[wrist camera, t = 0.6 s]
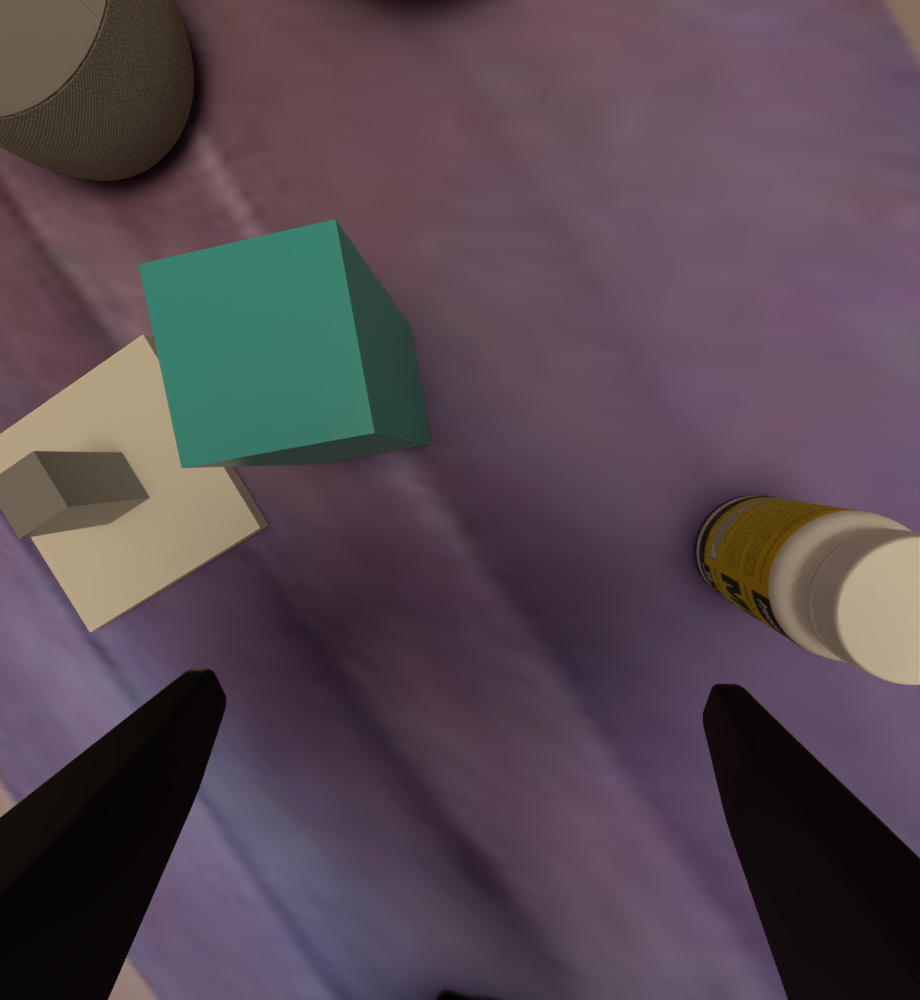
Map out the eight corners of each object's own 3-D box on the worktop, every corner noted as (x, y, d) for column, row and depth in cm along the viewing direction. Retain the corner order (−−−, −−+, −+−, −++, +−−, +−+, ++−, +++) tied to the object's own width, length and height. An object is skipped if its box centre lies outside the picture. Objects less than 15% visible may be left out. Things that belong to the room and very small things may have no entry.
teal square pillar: (431, 444, 22) (374, 432, 12) (319, 463, 22) (181, 468, 13) (410, 326, 21) (335, 219, 12) (298, 349, 22) (138, 264, 12)
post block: (269, 525, 23) (203, 544, 18) (103, 626, 24) (-2, 671, 19) (155, 338, 22) (56, 304, 17) (-6, 450, 23) (-142, 448, 18)
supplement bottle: (671, 567, 21) (782, 638, 13) (732, 474, 21) (890, 484, 12) (768, 624, 21) (943, 733, 13) (832, 531, 20) (1060, 582, 12)
